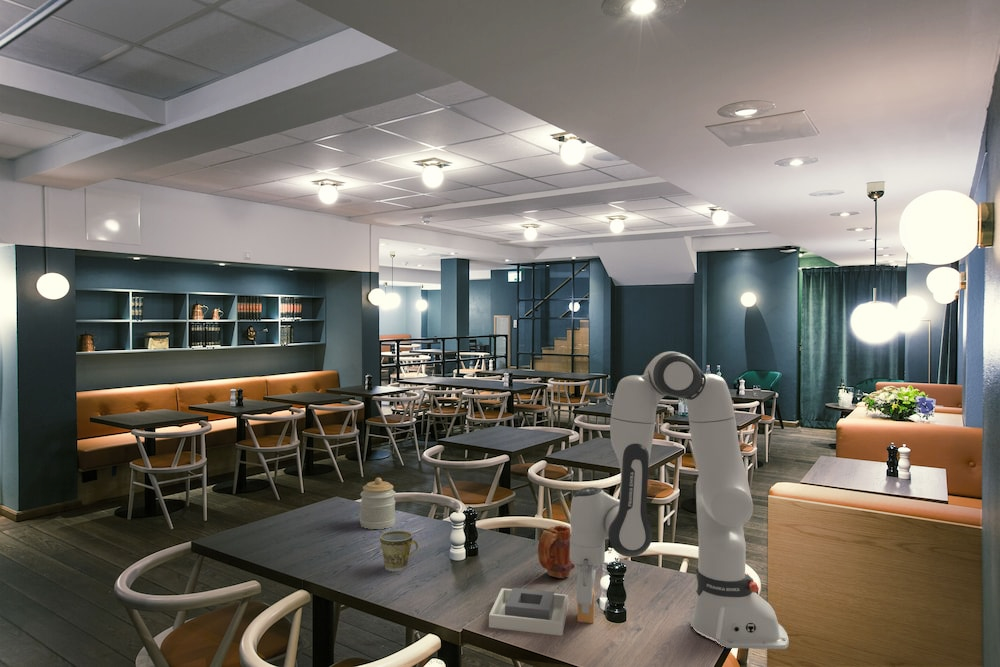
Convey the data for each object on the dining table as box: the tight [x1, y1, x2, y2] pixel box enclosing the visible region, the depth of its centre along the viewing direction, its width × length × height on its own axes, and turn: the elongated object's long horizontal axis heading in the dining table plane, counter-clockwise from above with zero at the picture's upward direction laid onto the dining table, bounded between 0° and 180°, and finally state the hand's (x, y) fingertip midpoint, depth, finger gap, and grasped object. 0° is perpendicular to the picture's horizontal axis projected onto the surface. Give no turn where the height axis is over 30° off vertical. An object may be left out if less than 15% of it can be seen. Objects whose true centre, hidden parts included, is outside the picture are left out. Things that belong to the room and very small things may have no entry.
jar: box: [359, 477, 396, 530], centre depth 231 cm, size 13×13×18 cm
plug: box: [576, 588, 596, 624], centre depth 156 cm, size 4×4×8 cm
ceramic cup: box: [379, 529, 419, 573], centre depth 189 cm, size 13×10×10 cm
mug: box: [537, 525, 576, 579], centre depth 184 cm, size 15×8×15 cm, turn 141°
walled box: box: [488, 587, 569, 637], centre depth 157 cm, size 18×16×4 cm
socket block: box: [505, 587, 555, 620], centre depth 157 cm, size 11×11×4 cm
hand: (586, 607), depth 156 cm, fingers closed on plug, 4 cm apart
